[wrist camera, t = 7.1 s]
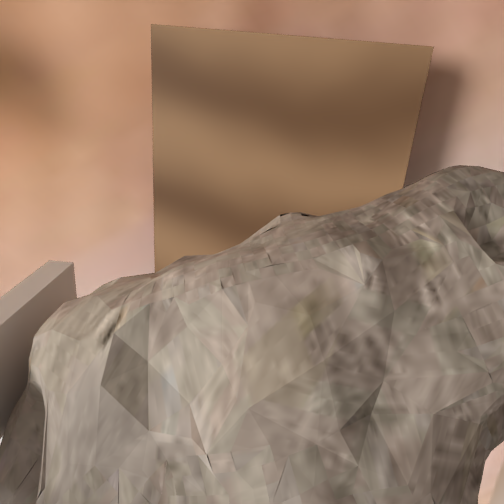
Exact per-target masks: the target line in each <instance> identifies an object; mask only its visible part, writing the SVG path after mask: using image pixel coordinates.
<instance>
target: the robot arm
mask: <svg viewBox="0 0 504 504" xmlns="http://www.w3.org/2000/svg"><path fill="white" fill-rule="evenodd" d="M74 299H77V295H76V284H75V274H74V263H73V262H63V261H52V260H49V261H48V262H47V263H45V264H44V265H43V266H41V267H40V268H39V269H37V270H36V271H35V272H33V273H32V274H31V275H29V276H28V277H27V278H26V279H24V280H23V281H22V282H20V283H19V284H18V285H16V286H15V287H14V288H12V289H11V290H10V291H8V292H7V293H6V294H4V295H3V296H2V297H1V298H0V439H1V437H2V436H3V435H4V432H5V428H6V424H7V422H8V420H9V417H10V415H11V413H12V410H13V408H14V407H15V405H16V404H17V402H18V401H19V399H20V397H21V396H22V394H23V392H24V390H25V389H26V387H27V381H28V372H29V356H30V352H31V349H32V345H33V338H34V336H35V334H36V333H37V331H38V330H39V328H40V327H41V326H42V325H43V324H44V323H45V321H46V320H47V319H48V318H49V317H50V316H51V315H52V314H53V313H54V312H55V311H56V310H57V309H58V308H59V307H60V306H61V305H62V304H63V303H64V302H68V301H71V300H74Z"/></svg>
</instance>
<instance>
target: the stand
mask: <svg viewBox="0 0 504 504" xmlns="http://www.w3.org/2000/svg"><path fill="white" fill-rule="evenodd" d="M433 48H434V47H432V46H419V45H407V44H394V43H382V42H369V41H357V40H344V39H332V38H319V37H307V36H294V35H282V34H269V33H257V32H244V31H232V30H219V29H207V28H194V27H182V26H169V25H157V24H151V59H152V124H153V188H154V252H155V273H156V272H158V271H159V270H161V269H163V268H164V267H166V266H168V265H170V264H171V263H173V262H175V261H176V260H178V259H180V258H181V257H183V256H192V255H214V254H217V253H219V252H222V251H224V250H226V249H229V248H231V247H234V246H236V245H239V244H241V243H242V242H244V241H245V240H246V239H248V238H249V237H250V236H252V235H253V234H254V233H256V232H257V231H258V230H260V229H261V228H263V227H264V226H265V225H267V224H268V223H269V222H271V221H272V220H273V219H275V218H276V217H277V216H279V215H281V214H286V213H294V212H302V213H306V214H311V215H315V216H322V215H327V214H331V213H335V212H339V211H344V210H348V209H352V208H357V207H360V206H362V205H365V204H367V203H369V202H371V201H373V200H375V199H377V198H380V197H382V196H384V195H386V194H389V193H391V192H394V191H397V190H400V189H402V188H403V185H404V180H405V176H406V171H407V167H408V162H409V157H410V153H411V148H412V144H413V139H414V135H415V130H416V125H417V121H418V116H419V112H420V107H421V103H422V98H423V94H424V89H425V84H426V80H427V75H428V71H429V66H430V62H431V57H432V52H433Z"/></svg>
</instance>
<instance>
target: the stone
mask: <svg viewBox="0 0 504 504" xmlns="http://www.w3.org/2000/svg"><path fill="white" fill-rule="evenodd" d="M503 441H504V172H500V171H496V170H492V169H488V168H484V167H480V166H463V165H458V166H453V167H448V168H446V169H443V170H441V171H438V172H436V173H433V174H431V175H429V176H427V177H425V178H423V179H422V180H420V181H418V182H416V183H414V184H411V185H409V186H407V187H405V188H402V189H400V190H397V191H394V192H391V193H389V194H386V195H384V196H382V197H380V198H377V199H375V200H373V201H371V202H369V203H367V204H365V205H362V206H360V207H357V208H352V209H348V210H344V211H339V212H335V213H331V214H327V215H322V216H315V215H311V214H306V213H302V212H294V213H286V214H281V215H279V216H277V217H276V218H275V219H273V220H272V221H271V222H269V223H268V224H267V225H265V226H264V227H263V228H261V229H260V230H258V231H257V232H256V233H254V234H253V235H252V236H250V237H249V238H248V239H246V240H245V241H244V242H242V243H241V244H239V245H236V246H234V247H231V248H229V249H226V250H224V251H222V252H219V253H217V254H214V255H192V256H183V257H181V258H180V259H178V260H176V261H175V262H173V263H171V264H170V265H168V266H166V267H164V268H163V269H161V270H159V271H158V272H156V273H151V274H144V275H136V276H129V277H121V278H118V279H116V280H113V281H111V282H109V283H106V284H104V285H102V286H101V287H99V288H98V289H97V290H95V291H94V292H93V293H91V294H90V295H87V296H84V297H80V298H77V299H74V300H71V301H68V302H64V303H63V304H62V305H61V306H60V307H59V308H58V309H57V310H56V311H55V312H54V313H53V314H52V315H51V316H50V317H49V318H48V319H47V320H46V321H45V323H44V324H43V325H42V326H41V327H40V328H39V330H38V331H37V333H36V334H35V336H34V338H33V345H32V349H31V352H30V356H29V372H28V381H27V387H26V389H25V390H24V392H23V394H22V396H21V397H20V399H19V401H18V402H17V404H16V405H15V407H14V408H13V410H12V413H11V415H10V417H9V420H8V422H7V424H6V428H5V432H4V435H3V439H2V442H1V445H0V504H478V493H479V489H480V484H481V480H482V475H483V470H484V464H485V461H486V459H487V457H488V456H489V454H490V452H491V451H492V450H493V449H494V448H495V447H497V446H498V445H499V444H500V443H501V442H503Z"/></svg>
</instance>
